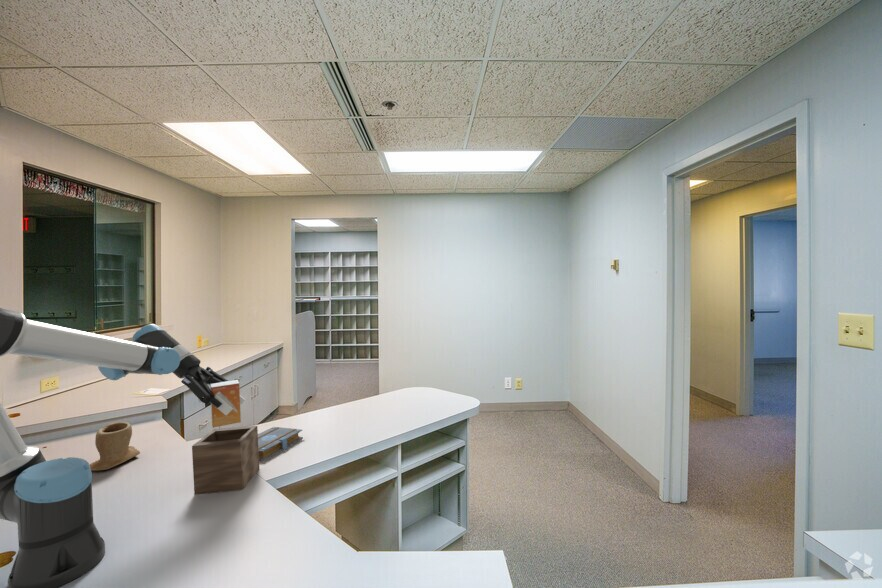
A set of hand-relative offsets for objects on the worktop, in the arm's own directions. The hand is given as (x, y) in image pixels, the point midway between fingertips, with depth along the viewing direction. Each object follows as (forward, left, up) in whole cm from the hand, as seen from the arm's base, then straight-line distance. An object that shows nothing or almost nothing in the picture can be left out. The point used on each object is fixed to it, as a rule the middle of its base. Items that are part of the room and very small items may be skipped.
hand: (236, 407), depth 120 cm
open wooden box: (0, +3, -24) cm, 24 cm away
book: (+25, -1, -25) cm, 35 cm away
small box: (0, +3, -5) cm, 6 cm away
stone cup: (+23, +52, -24) cm, 62 cm away
